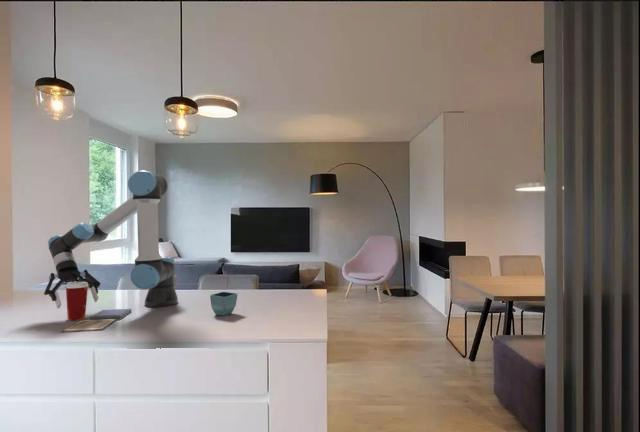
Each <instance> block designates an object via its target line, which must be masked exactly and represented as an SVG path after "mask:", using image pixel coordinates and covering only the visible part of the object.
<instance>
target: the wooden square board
mask: <svg viewBox="0 0 640 432" xmlns="http://www.w3.org/2000/svg"><path fill="white" fill-rule="evenodd" d="M118 320H119V319H102V320H89V319H86V320H85V319H80V320H78V321H77V322H75V323H74V324H71V325H70V326H67V327H66V328H65V329H63V330H61V333H70V332H71V333H72V332H92V331H95V332H96V331H103V330H105V329H107V328H108V327H110V326H111V325H113V323H115V322H117V321H118Z"/></svg>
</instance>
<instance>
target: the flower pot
mask: <svg viewBox="0 0 640 432" xmlns="http://www.w3.org/2000/svg"><path fill="white" fill-rule="evenodd" d="M209 297H210V305H211V309H212V311H213V313H214V314H215V315H217V316H222V317H225V316H227V315H231V314H232V313H233V312H234V310H235V308H236V306H237V300H238V293H236V292H229V291H221V292H220V291H219V292H216V293H213V294H209Z"/></svg>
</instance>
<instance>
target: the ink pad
mask: <svg viewBox="0 0 640 432" xmlns="http://www.w3.org/2000/svg"><path fill="white" fill-rule="evenodd" d="M130 313H132V308H117V309H102V310H100V311H97V313H94V314H93V315H91V316H89V317H88V318H89V319H88V320H102V319H118V320H122V319H123V318H125V317H126V316H128V315H129V314H130Z"/></svg>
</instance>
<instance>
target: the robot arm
mask: <svg viewBox="0 0 640 432" xmlns="http://www.w3.org/2000/svg"><path fill="white" fill-rule="evenodd" d="M127 187H128V190H129V191H130V192H131V194H132V196H131V197H129V198H128V199H127V200H125V201H124V202H123V203H122V204H120V205H119V206H118V207H116V208H115V209H114V210H113V211H111V212H110V213H108V214H107V215H106V216H104V217H103V218H102V219H100V220H98V222H97V223H95V224H93V225H92V226H91V225H90V224H88V223H86V222H80V223H78V224H77V225H75V226H73V227H72V228H71V229H69V230H68V231H67V232H66V233H65V234H57V235H54V236H51V237H50V238H49V239H48V241H47V245H48V250H49V251H50V252H49V253H50V254H51V258H52V260H53V264H54V267H55V271H56V274H55V273H54V272H51V273H50V275H49V277H48V279H49V281H48V284H47V285H46V288H45V290H44V291H43V295H45V296H47V295H48V296H49V297H50V299H51V301H52V302H55V306H56V308H57V309H60V308H61V306H62V302H61V299H60V296H59V292H58V290H59V288H60V287H61V286H63V284H64V283H66V284H68V283H72V282H87V283H88V285H89V286H88V289H90V290H89V291H90V293H91V295H92V299H93V302H94V303H97V302H98V300H99V296H98V294H99V290H98V288H100V286H101V282H100V281H99V280H98V279H96V278H95V277H94V276H92V275H91V274H90V273H89V271H88V270H87V269H84V270H83V271H81V270H79V267H78V265H77V262H76V260H75V257H74V253H73V251H74V250H75V249H76V248H78V247H79V246H80V245H82V244H87V243H99V242H102V241H105V240H107V238H108V236H109V234H110V233H112V232H113V231H115V230H116V229H118V228H119V227H120V226H122V225H123V224H124V223H126V222H127V221H128V220H129V219H131V218H132V217H134V216H135V215H137V216H136V217H137V220H136V221H137V225H136V226H137V254H138V255H137V257H136V258H135V259H134V267H133V269H132V270H131V273H130V281H131V283H132V285H134V286H135V288H137V289H140V290H147V294H146V296H145V299H144V306H145V307H150V308H160V307H169V306H172V305H176V304H177V303H179V300H178V299H179V298H178V294H177V292H176V289H175V267H176V264H175V259H174V258H172V257H163V256H161V255H160V250H159V249H160V248H159V247H160V246H159V244H160V243H159V240H160V239H159V216H158V214H159V212H158V210H159V209H158V207H159V206H158V204H159V203H160V202H161V200H162V197H164V196H165V195H166V193H167V192H168V188H169V186H168V181H167V180H166V178H165V177H164V176H162V175H160V174H158V173H154V172H153V171H149V170H137V171H135V172H133V173H132V174H131V175H130V176H129V178H128V181H127ZM57 278H58V279H59V281H58V282H57V283H56V284H55V285H54V287H52V284H53V282H54V281H55V280H56V279H57ZM51 287H52V289H51Z"/></svg>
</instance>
